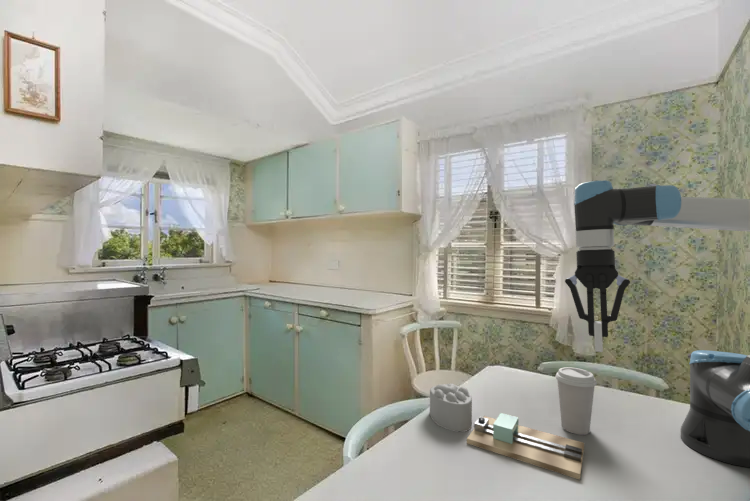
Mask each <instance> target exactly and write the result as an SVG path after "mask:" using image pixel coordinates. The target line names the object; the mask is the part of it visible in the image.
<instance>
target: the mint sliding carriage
mask: <svg viewBox="0 0 750 501" xmlns="http://www.w3.org/2000/svg"><path fill="white" fill-rule="evenodd" d="M495 419H496V421H495V422H494V424H493V438H494V439H497V440H500V441H504V442H507V443H510V444H512V443H513V433H514V432H517V433H518V425H519V423H520V422H519V417H518V416H514V415H511V414H507V413H502V412H500V413H499V415H498V416H497V417H496V418H495Z"/></svg>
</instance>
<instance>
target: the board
mask: <svg viewBox="0 0 750 501" xmlns="http://www.w3.org/2000/svg"><path fill="white" fill-rule="evenodd" d="M482 417H483V418H487V419H489V425H492V426H493V424H494V422H495V421H496V419H497V418H493V417H489V416H486V415H483V416H482ZM487 429H488V428H487ZM489 430H491V429H489ZM492 431H493V430H492ZM518 433H521V434H524V435H528V436H531V437H535V438H538V439H542V440H546V441H549V442H553V443H556V444H560V445H563V446H566V444H567V445H570V446H574V447H577V448H581V449H582V455H581V462H579V461H576V460H572V459H569V458H565V457H564V456H561V455H558V454H554V453H551V452H548V451H544V450H541V449H538V448H534V447H531V446H527V445H524V444H521V443H517V442H514V441H513V443H512V444H510V443H507V442H504V441H500V440H497V439H494V438H493V435H490V434H487V433H482V432H478V431H475V430H474V429H473V430H472V431H471V432H470V434H468V436H467V438H466V444H467V445H471V446H475V447H477V448H480V449H483V450H485V451H489V452H493V453H496V454H498V455H502V456H506V457H509V458H512V459H514V460H518V461H520V462H524V463H526V464H529V465H533V466H537V467H539V468H542V469H545V470H548V471H550V472H551V471H552V472H555V473H557V474H560V475H564V476H567V477H571V478H573V479H577V480H581V474H582V468H583V460H584V453H585V442H582V441H578V440H575V439H570V438H567V437H563V436H560V435H556V434H552V433H549V432H545V431H541V430H538V429H534V428H532V427H531V428H530V427H527V426H523V425H519V424H518ZM513 437H516V436H513ZM516 438H519V437H516ZM520 439H523V438H520ZM523 440H526V439H523ZM526 441H530V440H526ZM530 442H533V441H530ZM533 443H536V442H533ZM537 444H540V443H537ZM540 445H543V444H540ZM544 446H547V445H544ZM547 447H550V446H547ZM551 448H554V447H551ZM554 449H557V448H554ZM557 450H561V449H557ZM561 451H564V450H561Z"/></svg>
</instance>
